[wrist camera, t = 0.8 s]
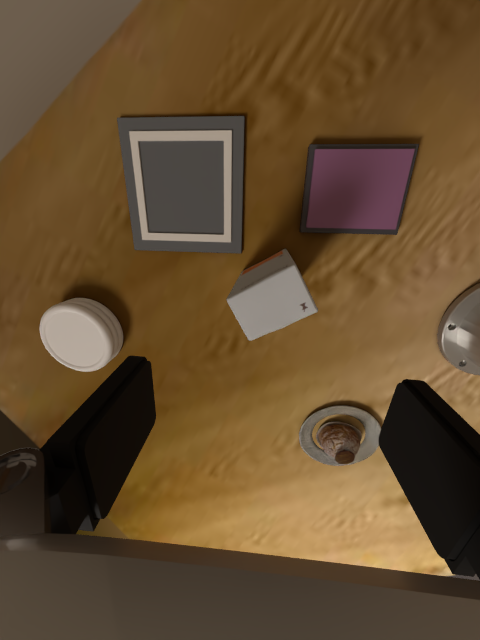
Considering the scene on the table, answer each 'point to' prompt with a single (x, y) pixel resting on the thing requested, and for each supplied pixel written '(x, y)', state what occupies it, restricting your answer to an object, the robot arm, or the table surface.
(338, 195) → the ink pad
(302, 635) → the robot arm
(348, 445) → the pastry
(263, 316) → the skincare box
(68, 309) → the white round disc
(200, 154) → the mat
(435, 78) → the table surface
